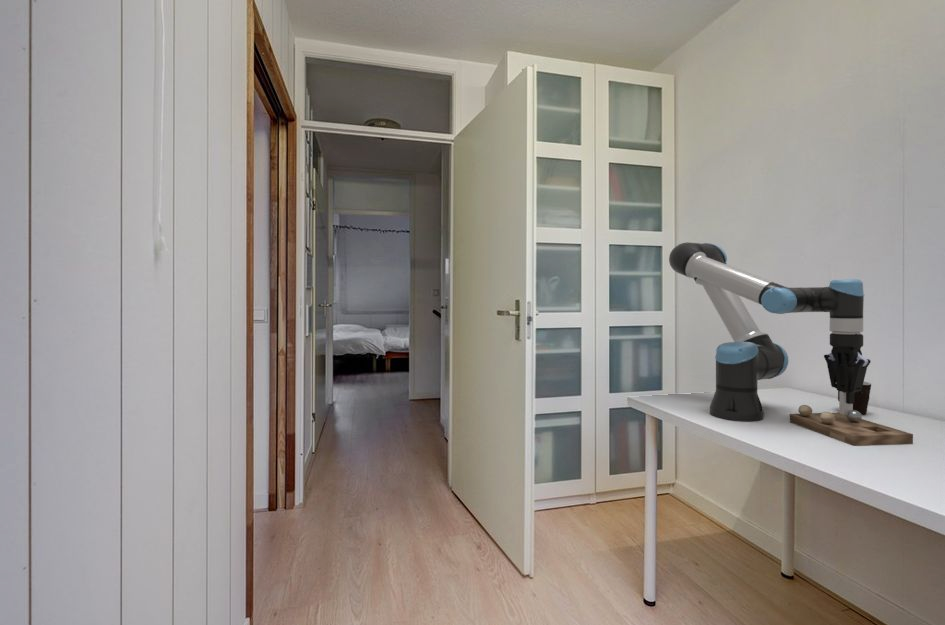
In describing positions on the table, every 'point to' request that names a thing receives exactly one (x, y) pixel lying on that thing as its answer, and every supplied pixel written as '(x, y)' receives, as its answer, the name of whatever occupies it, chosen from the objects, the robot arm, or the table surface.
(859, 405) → the coffee mug
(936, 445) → the table surface
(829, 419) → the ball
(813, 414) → the walnut plate
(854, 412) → the steel ball
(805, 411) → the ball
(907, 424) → the table surface
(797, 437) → the table surface
